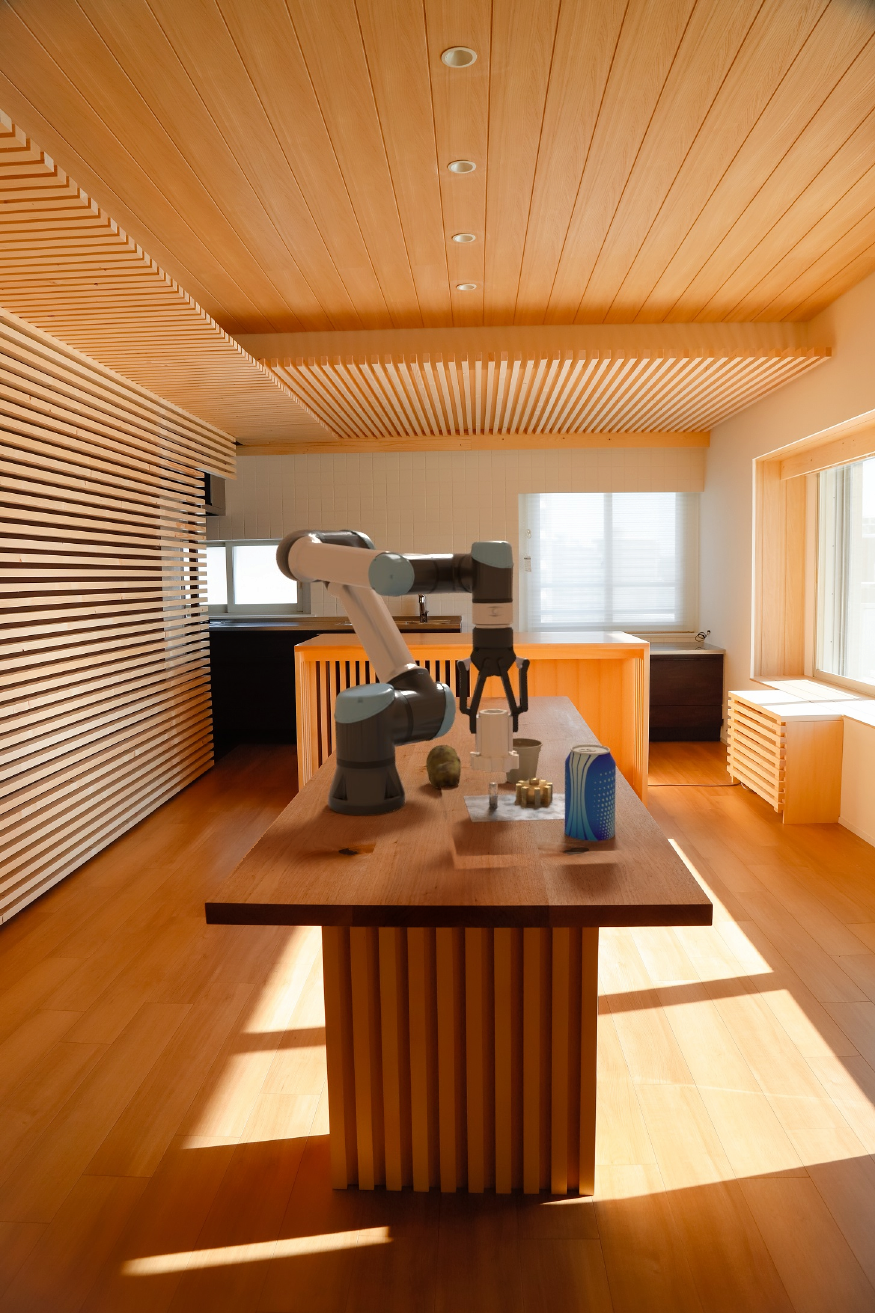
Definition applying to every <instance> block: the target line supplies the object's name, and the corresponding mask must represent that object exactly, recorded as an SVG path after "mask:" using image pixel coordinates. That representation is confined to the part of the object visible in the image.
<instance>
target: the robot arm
mask: <svg viewBox="0 0 875 1313" xmlns="http://www.w3.org/2000/svg"><path fill="white" fill-rule="evenodd" d="M470 549H471V550H470V552H469V553H465V552H464V553H462V552H461V553H448V552H447V553H401V552H394V551H393V552H392V551H385V550H378V549H377V550H376V547H375V544H374V543H373V541H372V539H371V538H370V537H369V536H368V535H367V534H365V533H363V532H361V531H357V530H351V529H346V528H345V529H339V530H333V529H332V530H331V529H330V530H329V529H327V530H326V529H306V528H305V529H299V530H295V531H292V532H290V533H288V534H287V535H285V536H284V537H283V538H282V539H281V540H280V542H279V543H278V546H277V548H276V553H275V560H276V565H277V567H278V570H279V571H280V572H281V574H283V575H284V577H286V578H287V579H290V580H292V581H294V582H298V583H322V584H324V587H325V588H326V589H325V590H326V591H327V593H328V595H329V596H331V597H332V598H335V599H338V600H339V601H340V604H341V606H342V608H343V609H344V612H345V613H346V616H347V618H348V620H349V622H350V623H351V626H352V628H353V630H354V632H355V634H356V636H357V637H358V638H357V639H358V640H359V643H360V644H361V646H362V647H363V650H364V652H365V655H366V656H367V659H368V660H369V663H370V664H371V667H372V669H373V670H374V672H375V674H376V677H377V678H378V680H379V682H372V683H367V684H366V683H363V684H358V685H355V686H351V687H348V688H345V689H344V690H342V691H340V692H339V693H338V694H337V696H336V697H335V702H334V713H333V718H334V727H335V732H334V733H335V758H336V761H335V762H336V767H335V771H334V774H333V779H332V781H331V786H330V788H329V792H328V797H327V798H328V808H329V809H330V810H332V811H334V812H336V813H339V814H343V815H348V816H349V815H350V816H351V815H352V816H373V815H375V816H377V815H382V814H387V813H391V812H394V811H397V810H399V809H402V808H403V807H404V806H405V804H406V792H405V788H404V785H403V782H402V779H401V776H400V774H399V770H398V768H397V764H396V762H397V760H396V748H397V747H402V746H406V745H407V746H408V745H412V744H416V743H417V744H418V743H423V742H430V741H433V740H434V739H438V738H442V737H444V736H445V735H447V734H448V733H449V731H451V729H452V727H453V725H454V722H455V719H456V713H457V704H456V698H455V695H454V693H453V691H452V689H451V688H450V687H449V686H448V685H447V684H446V683H443V682H441V681H434V680H433V678H432V675H431V674H430V672H429V670H428V669H427V668H425V667H423V666H418V664H417V662H416V660H415V659H414V657H413V654H412V653H411V651H410V650H409V647H408V645H407V643H406V642H405V639H404V638H403V636H402V633H401V632H400V630H399V628H398V625H397V624H396V622H395V620H394V619H393V616H392V614H391V613H390V611H389V609H388V607H387V605H386V603H385V602H384V599H383V597H393V598H394V597H400V596H415V595H417V596H419V595H439V594H471V617H472V618H471V623H472V624H473V625H475V626H473V628H472V634H471V635H472V638H471V639H472V651H471V653H470V655H469V657H466V658H464V659H458V660H456V666H457V669H458V671H459V700H458V701H459V704H458V706H459V707H458V708H459V712H460V714H462V715H466V716H468V718H469V719H468V720H469V722H468V726H469V727H468V728H469V733H470V735H475V736H474V738H475V740H474V741H475V742H474V743H475V744H474V746H475V748H474V749H475V752H481V717H480V716H479V714H478V713H479V707H480V703H481V700H482V695H483V692H484V688H485V684H486V681H487V678H491V677H500V680H501V683H502V686H503V690H504V693H505V697H506V700H507V701H506V702H507V704H508V708H509V712H510V713H509V751H513V738H514V733H518V732H519V716H520V715H521V714H523V713H527V712H528V711H529V692H528V691H529V690H528V688H529V687H528V670H529V668H530V665H531V661H530V659H528V658H527V657H521V656H517V654H516V652H515V649H514V628H513V627H512V626H511V625H512V624H513V623H514V602H513V601H514V598H513V596H514V595H513V594H514V593H513V592H514V591H513V586H514V584H513V582H514V580H513V579H514V565H515V563H514V558H513V546H512V544H511V543H510V542H509V541H505V540H504V541H503V540H485V541H475V542H473V543H472V544H471V547H470ZM382 596H383V597H382ZM514 663H515V665H516V668H517V669H518V694H519V697H518V698H519V705H517V701H516V698H515V694H514V691H513V687H512V684H511V680H510V675H509V670H510V669H511V667H513V665H514ZM471 664H472V665H473V666H474V667H475V669H476V670H477V672H478V673H477V678H476V682H475V686H474V689H473V694H472V698H471V702H470V706H469V707H468V671H469V670H470V669H471V668H470V667H471Z"/></svg>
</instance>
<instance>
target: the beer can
mask: <svg viewBox="0 0 875 1313" xmlns="http://www.w3.org/2000/svg"><path fill="white" fill-rule="evenodd" d="M616 768H617V764H616V760H615V758H614V757H613V755H612V753H611V749H610V748H609V747H608V746H605V745H601V744H588V743H587V744H576V745H574V746H571V747H570V752H569V754H568V755H567V757H566V758H565V761H564V793H565V819H564V834H565V835H566V836H567V837H570V838H571V839H576V840H579V841H585V842H587V841H589V842H590V841H591V842H598V841H599V842H600V841H607V840H610V839H612V838H613V837H615V835H616V783H617V782H616V778H617V777H616V775H617V774H616V772H617V771H616V770H617V769H616Z"/></svg>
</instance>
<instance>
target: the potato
mask: <svg viewBox="0 0 875 1313" xmlns="http://www.w3.org/2000/svg"><path fill="white" fill-rule="evenodd" d="M461 762H462V761H461V758H460V756H458V754H457V751H456V750H455V748H453V747H452V746H450V745H448V744H446V745H445V744H441V745H436V746H434V747H432V748H431V749H430V751H429V752H428V754H427V756H426V761H425V765H426V771H427V778H428V781H429V782H430V784H431V785H432V787H433V788H435V789H437V790H442V787H443V788H453V787H456V786H458V785H459V784H460V779H461V772H462V769H461V768H462V764H461Z"/></svg>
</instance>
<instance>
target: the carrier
mask: <svg viewBox="0 0 875 1313" xmlns="http://www.w3.org/2000/svg"><path fill="white" fill-rule="evenodd" d="M498 784H499V783H498V782H489V783H488V794H486V795H463V797H462V798H463V799H464V802H465V805H466V809H467V811H468V814H469V817H470V820H471V822H472V823H487V822H488V823H489V822H493V823H494V822H514V821H515V822H517V821H518V822H519V821H522V822H523V821H545V820H546V821H547V820H548V821H549V820H565V792H553V788H554V786H553V783H552V782H547V780H545V779H540V778H538V777H536V778H529V779H528V781H518V783H515V793H514V794H498V793H499V791H498V790H499V789H498V787H499V785H498Z"/></svg>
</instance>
